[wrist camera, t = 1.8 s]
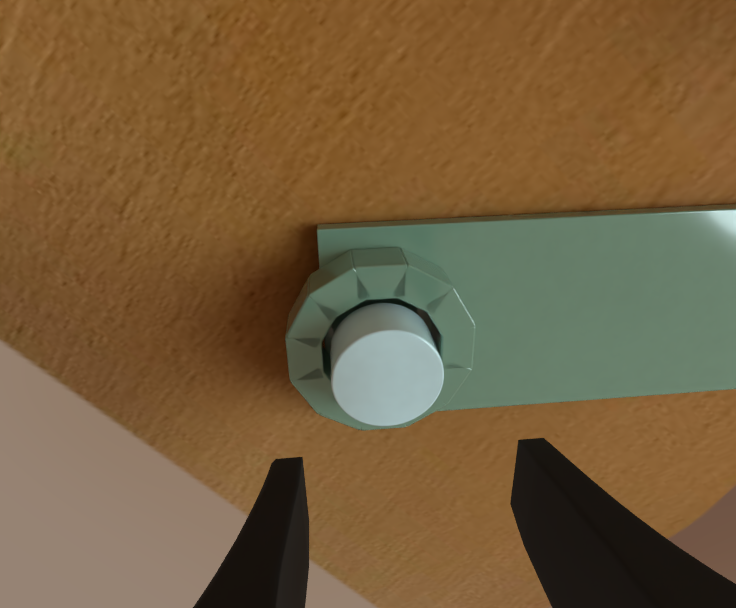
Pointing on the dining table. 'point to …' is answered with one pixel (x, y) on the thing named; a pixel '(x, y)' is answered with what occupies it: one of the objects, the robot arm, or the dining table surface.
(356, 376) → the light gray smooth cylinder
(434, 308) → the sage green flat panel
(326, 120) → the dining table surface
